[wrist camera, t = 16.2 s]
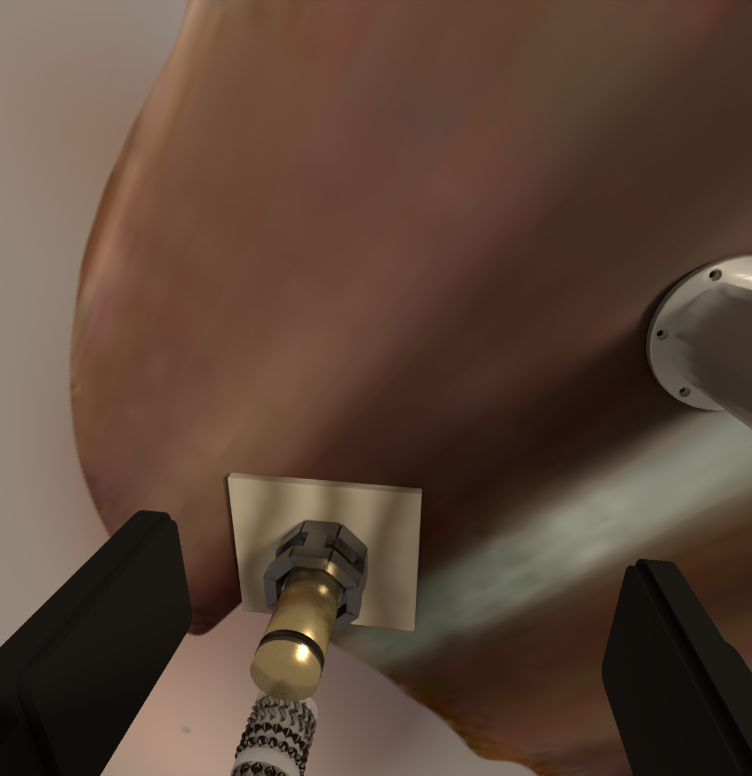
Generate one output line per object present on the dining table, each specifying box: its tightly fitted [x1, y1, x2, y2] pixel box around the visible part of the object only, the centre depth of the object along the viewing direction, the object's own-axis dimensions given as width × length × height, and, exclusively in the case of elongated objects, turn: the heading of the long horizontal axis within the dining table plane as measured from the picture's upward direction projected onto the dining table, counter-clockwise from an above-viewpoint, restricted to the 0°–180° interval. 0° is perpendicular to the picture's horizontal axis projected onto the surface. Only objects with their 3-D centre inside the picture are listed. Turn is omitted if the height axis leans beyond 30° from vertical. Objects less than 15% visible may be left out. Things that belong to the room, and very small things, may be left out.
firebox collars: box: [263, 520, 368, 634], centre depth 49 cm, size 9×9×6 cm
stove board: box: [228, 473, 422, 631], centre depth 52 cm, size 20×18×1 cm
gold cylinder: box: [250, 542, 350, 702], centre depth 45 cm, size 6×6×14 cm
